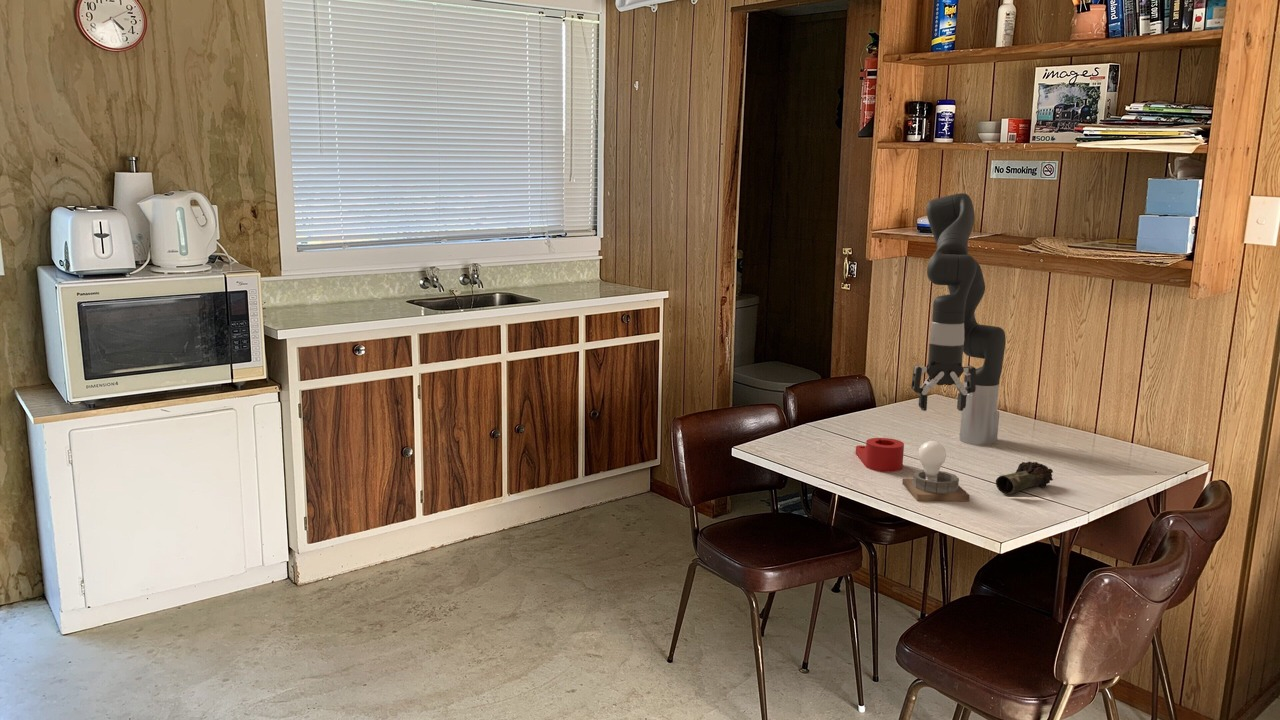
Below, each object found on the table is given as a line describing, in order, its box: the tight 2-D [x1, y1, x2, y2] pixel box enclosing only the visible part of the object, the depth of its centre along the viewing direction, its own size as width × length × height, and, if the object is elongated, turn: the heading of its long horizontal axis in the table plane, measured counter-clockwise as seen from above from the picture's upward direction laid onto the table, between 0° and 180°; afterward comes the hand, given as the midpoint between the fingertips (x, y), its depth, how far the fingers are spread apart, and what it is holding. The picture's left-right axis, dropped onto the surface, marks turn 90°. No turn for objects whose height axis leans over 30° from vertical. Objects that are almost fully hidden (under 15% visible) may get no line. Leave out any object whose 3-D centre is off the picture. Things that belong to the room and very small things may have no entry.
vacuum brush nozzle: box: [995, 461, 1054, 496], centre depth 231 cm, size 18×7×6 cm, turn 125°
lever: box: [855, 437, 905, 473], centre depth 252 cm, size 18×9×7 cm, turn 15°
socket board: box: [901, 469, 970, 502], centre depth 228 cm, size 12×12×4 cm
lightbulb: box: [917, 440, 947, 482], centre depth 227 cm, size 6×6×11 cm
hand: (941, 410), depth 225 cm, fingers open, 8 cm apart
